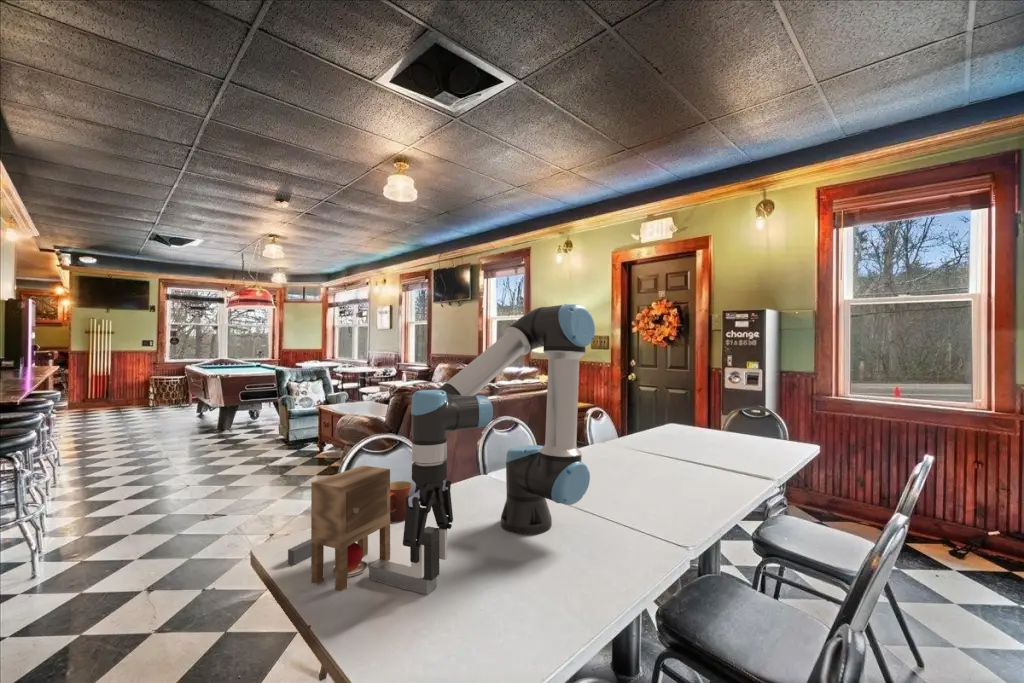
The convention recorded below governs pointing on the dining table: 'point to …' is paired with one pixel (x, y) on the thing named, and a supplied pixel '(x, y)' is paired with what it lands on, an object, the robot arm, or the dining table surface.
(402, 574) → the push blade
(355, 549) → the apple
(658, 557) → the dining table surface
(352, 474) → the cabinet
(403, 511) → the mug
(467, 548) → the dining table surface
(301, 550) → the block
